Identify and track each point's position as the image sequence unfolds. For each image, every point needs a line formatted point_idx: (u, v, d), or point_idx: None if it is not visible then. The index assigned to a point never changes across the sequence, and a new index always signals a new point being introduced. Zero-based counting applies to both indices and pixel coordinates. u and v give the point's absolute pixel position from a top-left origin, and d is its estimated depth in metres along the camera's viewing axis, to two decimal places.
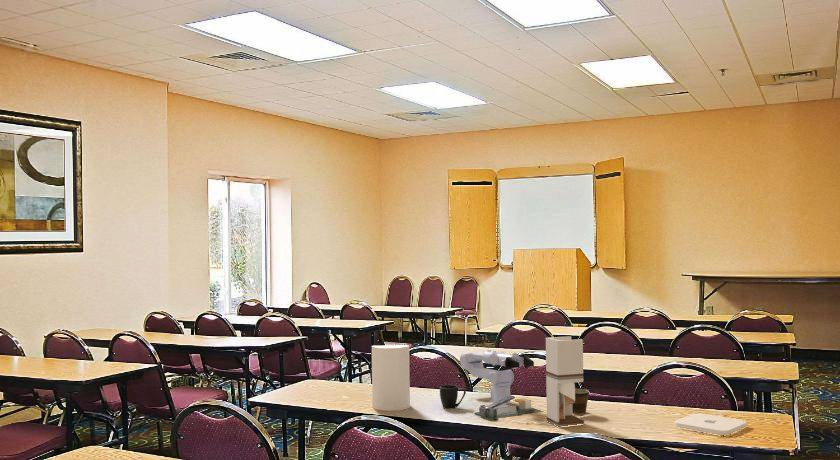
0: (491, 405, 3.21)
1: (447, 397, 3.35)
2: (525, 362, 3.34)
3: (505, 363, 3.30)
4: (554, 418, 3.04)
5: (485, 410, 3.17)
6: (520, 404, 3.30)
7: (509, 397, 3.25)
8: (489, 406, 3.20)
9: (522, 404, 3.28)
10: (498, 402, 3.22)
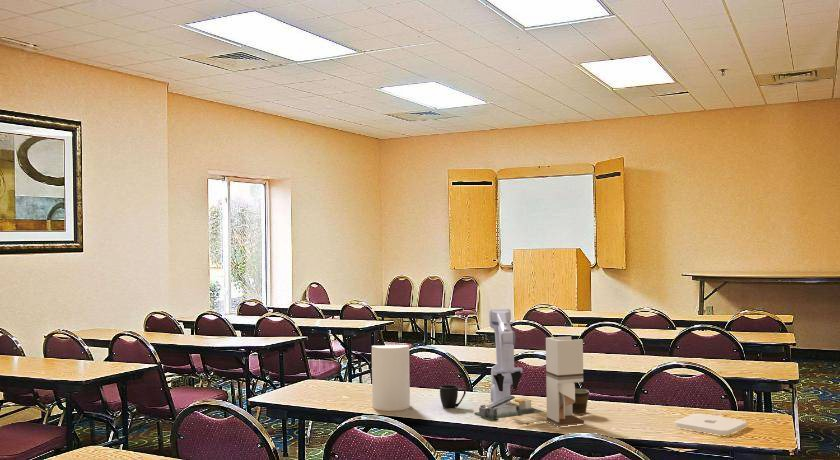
0: (491, 405, 3.21)
1: (447, 397, 3.35)
2: (514, 376, 3.27)
3: (495, 375, 3.22)
4: (554, 418, 3.04)
5: (485, 410, 3.17)
6: (520, 404, 3.30)
7: (509, 397, 3.25)
8: (489, 406, 3.20)
9: (522, 404, 3.28)
10: (498, 402, 3.22)
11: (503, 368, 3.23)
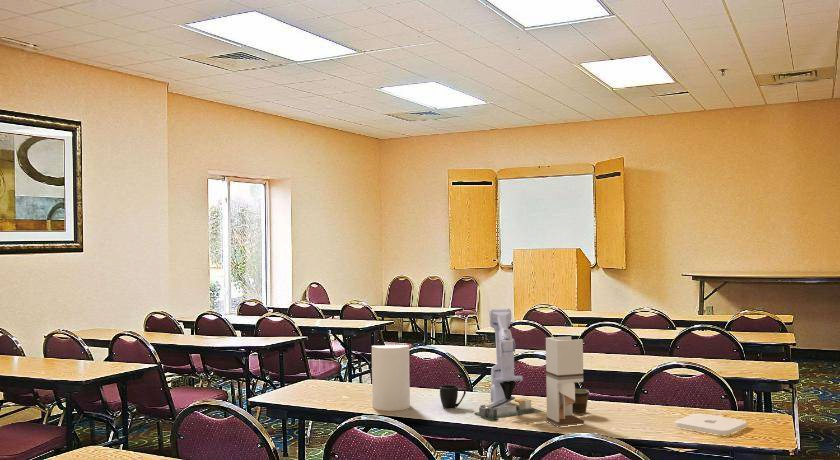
0: (491, 405, 3.21)
1: (447, 397, 3.35)
2: None
3: (502, 383, 3.24)
4: (554, 418, 3.04)
5: (485, 410, 3.17)
6: (520, 404, 3.30)
7: None
8: (489, 406, 3.20)
9: (522, 404, 3.28)
10: (498, 402, 3.22)
11: (503, 376, 3.23)
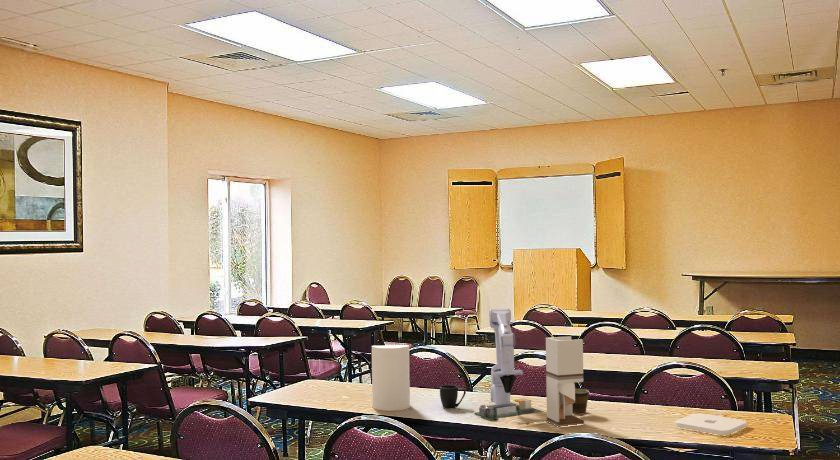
0: (491, 406, 3.21)
1: (447, 397, 3.35)
2: None
3: (502, 377, 3.24)
4: (554, 418, 3.04)
5: (485, 410, 3.17)
6: (520, 404, 3.30)
7: (510, 404, 3.25)
8: (489, 407, 3.20)
9: (522, 404, 3.28)
10: (499, 406, 3.23)
11: (503, 370, 3.23)
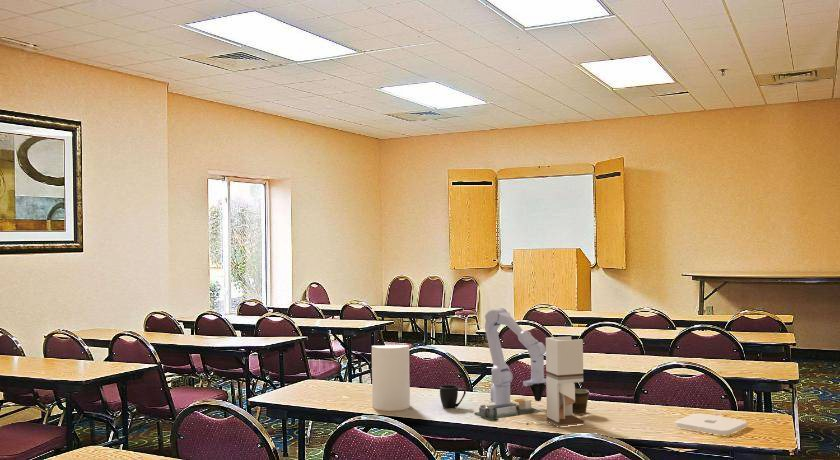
0: (491, 406, 3.21)
1: (447, 397, 3.35)
2: None
3: (532, 385, 3.31)
4: (554, 418, 3.04)
5: (485, 410, 3.17)
6: (520, 404, 3.30)
7: (510, 404, 3.25)
8: (489, 407, 3.20)
9: (522, 404, 3.28)
10: (499, 406, 3.23)
11: (533, 379, 3.31)
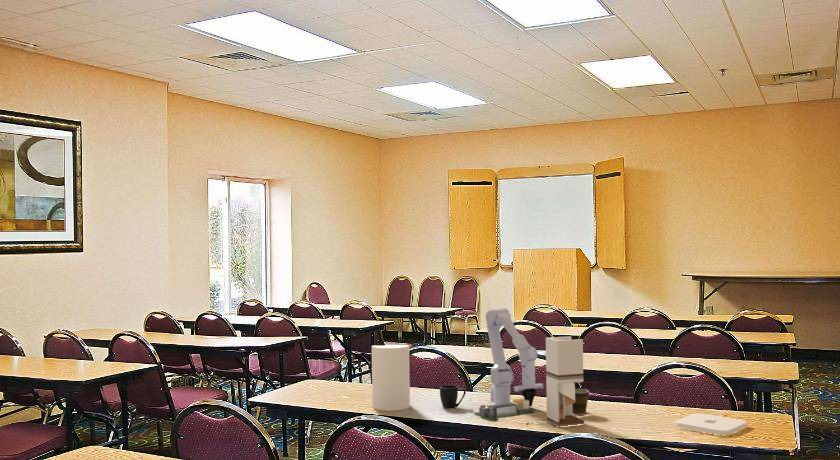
0: (491, 406, 3.21)
1: (447, 397, 3.35)
2: None
3: (523, 391, 3.29)
4: (554, 418, 3.04)
5: (485, 410, 3.17)
6: (518, 404, 3.29)
7: (510, 404, 3.25)
8: (489, 407, 3.20)
9: (520, 404, 3.28)
10: (499, 406, 3.23)
11: (524, 384, 3.28)
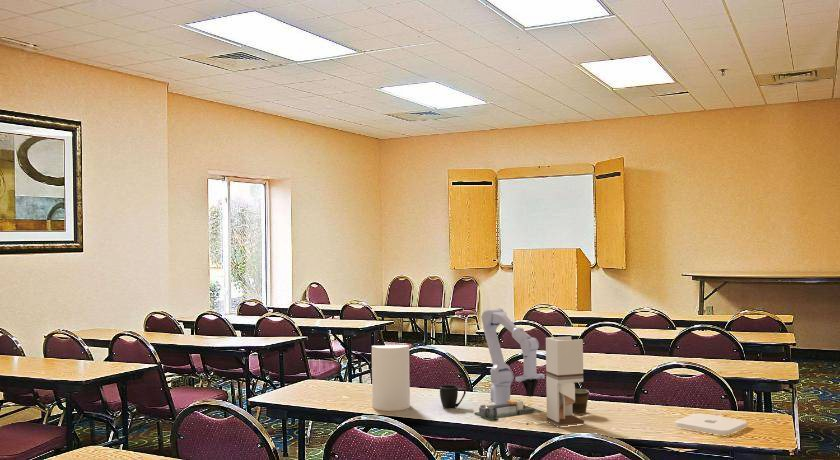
0: (491, 406, 3.21)
1: (447, 397, 3.35)
2: None
3: (524, 381, 3.29)
4: (554, 418, 3.04)
5: (485, 410, 3.17)
6: None
7: (510, 404, 3.25)
8: (489, 407, 3.20)
9: None
10: (499, 406, 3.23)
11: (526, 375, 3.29)
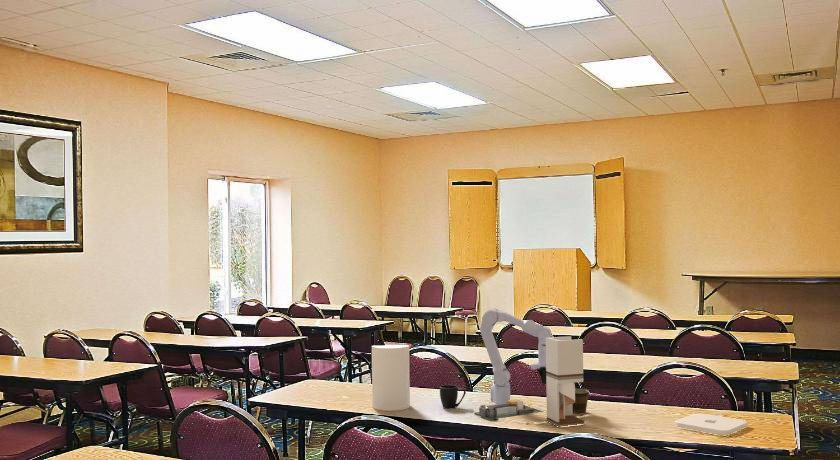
0: (491, 406, 3.21)
1: (447, 397, 3.35)
2: None
3: (539, 369, 3.37)
4: (554, 418, 3.04)
5: (485, 410, 3.17)
6: None
7: (510, 404, 3.25)
8: (489, 407, 3.20)
9: None
10: (499, 406, 3.23)
11: (541, 363, 3.36)
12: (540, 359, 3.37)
